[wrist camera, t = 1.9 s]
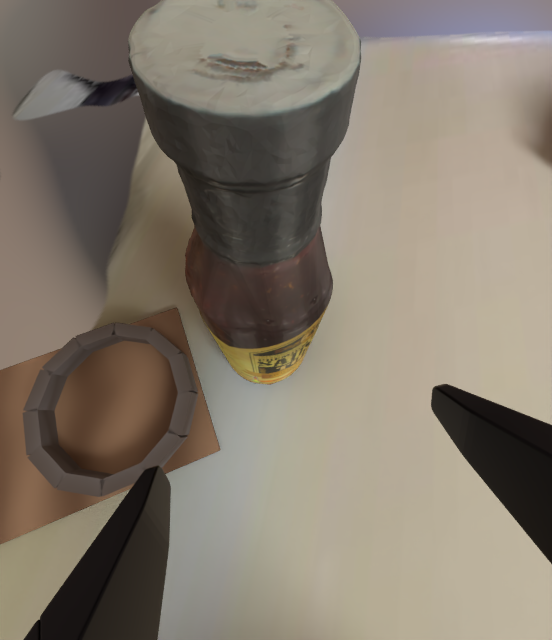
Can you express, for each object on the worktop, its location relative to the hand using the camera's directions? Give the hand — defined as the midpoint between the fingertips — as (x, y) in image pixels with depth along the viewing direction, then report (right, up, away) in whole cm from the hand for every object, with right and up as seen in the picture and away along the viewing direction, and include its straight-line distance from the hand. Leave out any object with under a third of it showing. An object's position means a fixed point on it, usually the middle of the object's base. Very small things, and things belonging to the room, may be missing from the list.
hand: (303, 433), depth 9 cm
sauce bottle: (-2, +1, +15) cm, 15 cm away
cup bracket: (-16, -4, +12) cm, 20 cm away
